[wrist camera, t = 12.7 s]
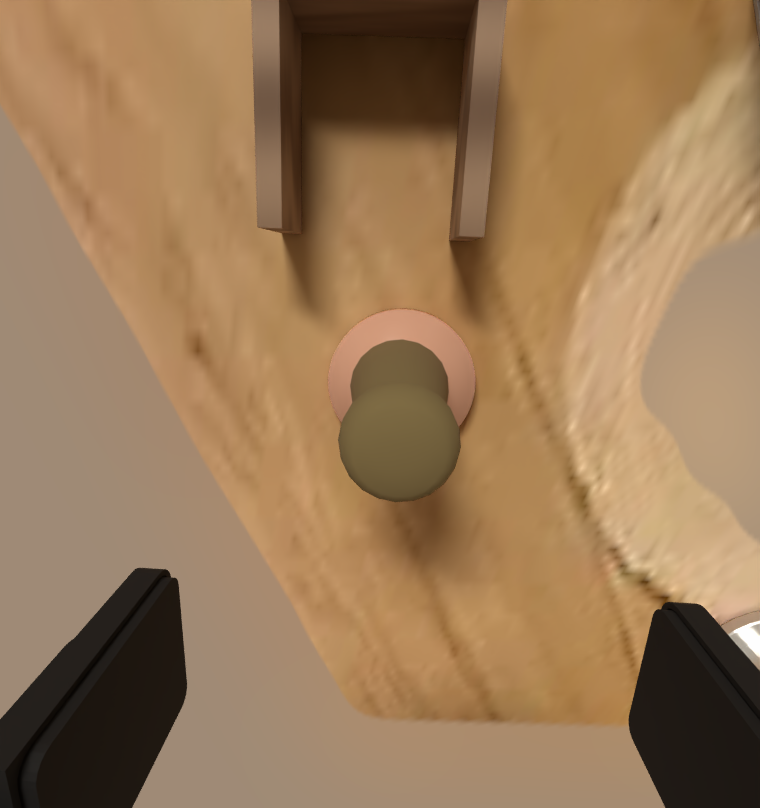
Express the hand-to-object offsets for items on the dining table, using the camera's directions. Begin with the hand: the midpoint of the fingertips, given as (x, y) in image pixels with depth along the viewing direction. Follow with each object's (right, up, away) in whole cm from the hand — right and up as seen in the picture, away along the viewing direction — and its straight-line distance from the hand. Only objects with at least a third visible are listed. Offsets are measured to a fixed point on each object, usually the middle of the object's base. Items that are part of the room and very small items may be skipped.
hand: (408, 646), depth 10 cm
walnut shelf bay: (-1, +20, +17) cm, 26 cm away
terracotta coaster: (+1, +6, +21) cm, 22 cm away
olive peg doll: (+1, +6, +20) cm, 21 cm away
